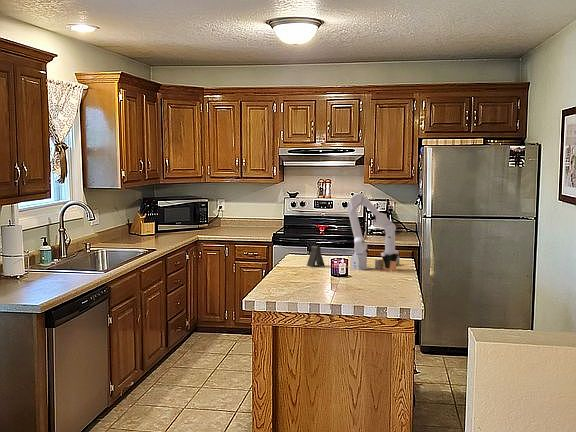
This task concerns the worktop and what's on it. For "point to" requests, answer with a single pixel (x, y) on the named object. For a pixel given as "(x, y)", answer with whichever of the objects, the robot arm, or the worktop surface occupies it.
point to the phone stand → (315, 257)
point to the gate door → (381, 263)
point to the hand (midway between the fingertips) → (389, 267)
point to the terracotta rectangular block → (391, 267)
